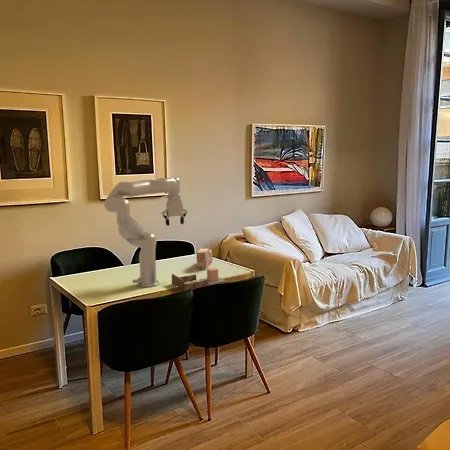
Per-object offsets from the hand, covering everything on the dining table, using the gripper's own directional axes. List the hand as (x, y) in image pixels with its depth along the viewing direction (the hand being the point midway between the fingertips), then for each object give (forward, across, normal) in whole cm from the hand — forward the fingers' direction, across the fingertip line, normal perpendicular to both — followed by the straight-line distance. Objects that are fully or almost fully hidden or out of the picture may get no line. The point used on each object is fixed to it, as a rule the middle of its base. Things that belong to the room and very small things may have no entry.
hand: (174, 224), depth 290 cm
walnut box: (+33, -2, -23) cm, 40 cm away
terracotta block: (+33, +14, -22) cm, 42 cm away
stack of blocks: (+33, +27, +12) cm, 45 cm away
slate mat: (+33, +14, -22) cm, 42 cm away
